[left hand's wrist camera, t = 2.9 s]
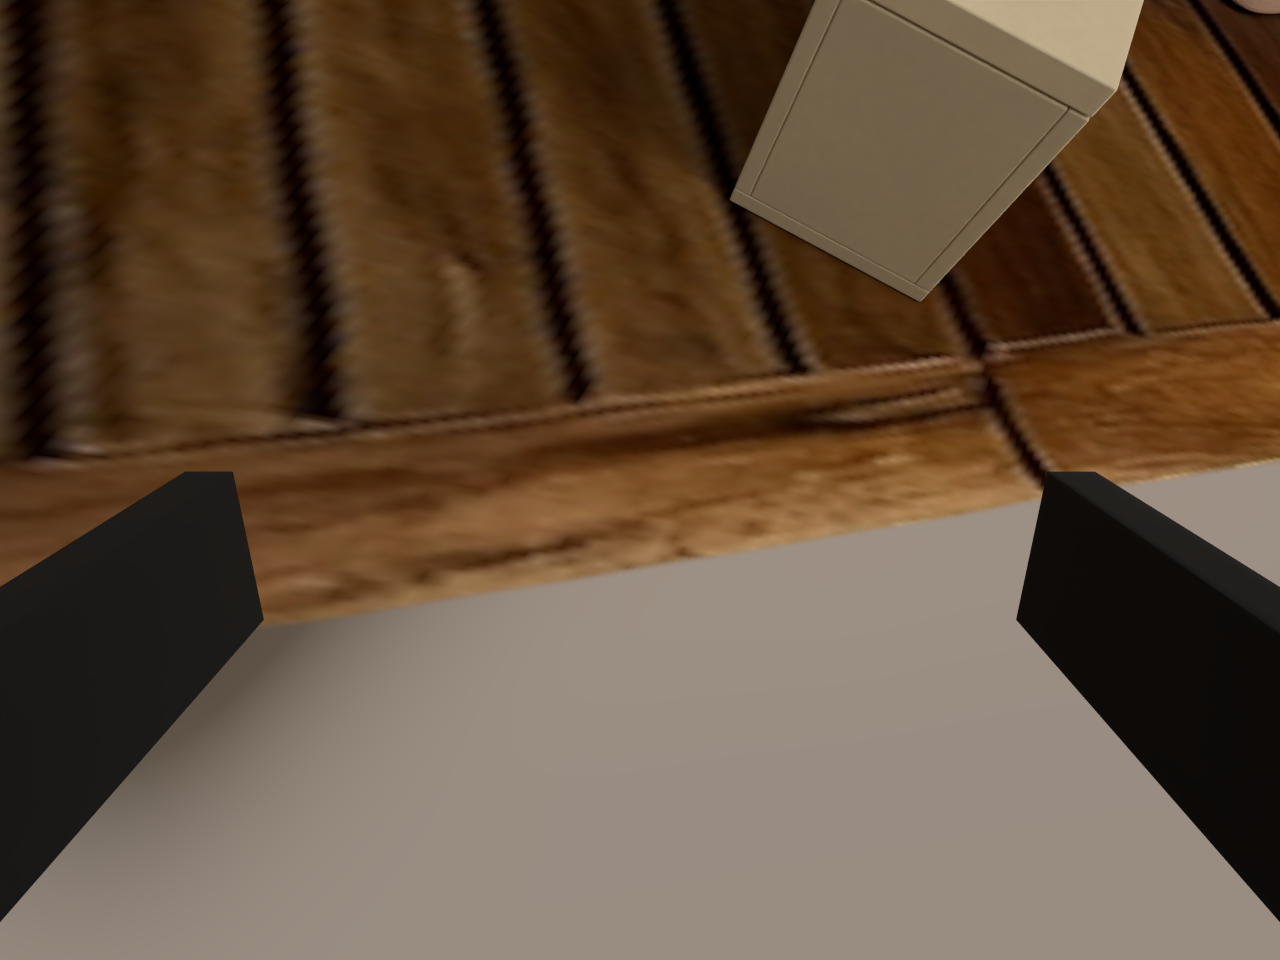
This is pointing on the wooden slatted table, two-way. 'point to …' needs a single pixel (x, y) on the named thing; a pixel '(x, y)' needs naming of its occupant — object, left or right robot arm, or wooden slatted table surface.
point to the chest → (895, 144)
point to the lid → (1039, 40)
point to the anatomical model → (1260, 6)
